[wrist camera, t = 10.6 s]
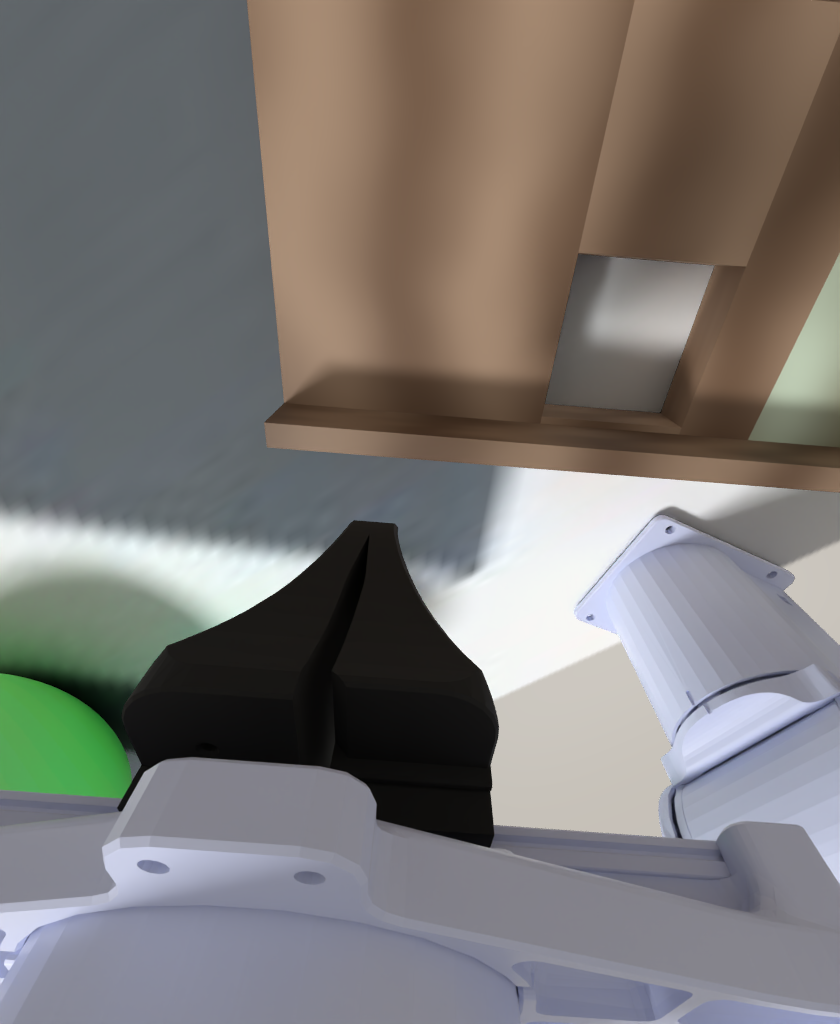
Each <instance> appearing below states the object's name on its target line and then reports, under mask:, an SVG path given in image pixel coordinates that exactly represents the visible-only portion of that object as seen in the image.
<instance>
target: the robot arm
mask: <svg viewBox="0 0 840 1024" xmlns="http://www.w3.org/2000/svg"><path fill="white" fill-rule="evenodd" d="M668 526H672V527H671V528H670V529H668V530H666V528H667V527H668ZM769 572H770V573H769ZM794 579H795V577H794V575H793V574H792V573H790V572H789V571H788V570H786V569H783V568H781V567H779V566H777V565H774V564H772V563H770V562H768V561H766V560H763V559H761V558H759V557H757V556H755V555H752V554H750V553H748V552H746V551H743V550H741V549H739V548H737V547H735V546H732V545H730V544H728V543H726V542H723V541H721V540H719V539H717V538H715V537H712V536H710V535H708V534H706V533H703V532H701V531H699V530H697V529H695V528H692V527H690V526H688V525H686V524H683V523H681V522H679V521H677V520H675V519H672V518H670V517H668V516H665V515H659V516H656V517H655V518H653V519H652V520H651V521H650V523H649V524H648V525H647V526H646V527H645V528H644V530H643V531H642V532H641V533H640V534H639V535H638V536H637V538H636V539H635V540H634V541H633V542H632V543H631V545H630V546H629V547H628V548H627V549H626V550H625V551H624V553H623V554H622V555H621V556H620V557H619V558H618V559H617V561H616V562H615V563H614V564H613V565H612V566H611V568H610V569H609V570H608V571H607V572H606V573H605V574H604V576H603V577H602V578H601V579H600V580H599V581H598V583H597V584H596V585H595V586H594V587H593V588H592V589H591V591H590V592H589V593H588V594H587V595H586V596H585V598H584V599H583V600H582V601H581V602H580V603H579V604H578V606H577V607H576V608H575V610H574V614H575V617H576V618H577V619H578V620H580V621H583V622H586V623H588V624H591V625H594V626H596V627H599V628H602V629H604V630H607V631H610V632H612V633H615V634H618V636H619V638H620V640H621V642H622V644H623V646H624V648H625V650H626V652H627V654H628V656H629V659H630V661H631V663H632V665H633V667H634V669H635V671H636V673H637V675H638V677H639V679H640V681H641V684H642V686H643V688H644V690H645V692H646V694H647V696H648V698H649V700H650V702H651V704H652V707H653V709H654V711H655V713H656V715H657V717H658V719H659V721H660V723H661V725H662V727H663V729H664V732H665V734H666V736H667V738H668V740H669V742H670V744H671V746H672V748H671V750H670V751H669V752H668V753H667V754H665V755H664V756H663V757H661V761H662V763H663V765H664V768H665V769H666V772H667V774H668V776H669V779H670V781H671V783H672V785H670V786H669V787H667V788H666V789H665V790H664V791H663V793H662V794H661V797H660V800H659V820H660V827H661V832H662V837H653V836H639V835H625V834H611V833H596V832H583V831H570V830H555V829H542V828H541V829H540V828H528V827H513V826H500V825H493V815H492V805H491V795H490V791H491V789H492V776H491V767H490V765H491V761H492V757H493V754H494V750H495V747H496V743H497V740H498V732H499V725H498V718H497V714H496V710H495V706H494V703H493V699H492V696H491V693H490V690H489V687H488V685H487V682H486V680H485V677H484V675H483V673H482V670H481V669H480V668H478V667H477V666H476V665H475V664H474V663H473V662H472V661H471V660H470V659H469V658H468V657H467V656H466V655H465V654H464V653H463V652H462V651H461V650H460V649H459V648H458V647H457V646H456V645H455V644H454V643H453V641H452V640H451V639H450V638H449V637H448V636H447V634H446V633H445V632H444V630H443V629H442V628H441V627H440V625H439V624H438V623H437V621H436V620H435V619H434V617H433V616H432V614H431V613H430V611H429V610H428V608H427V607H426V605H425V603H424V602H423V600H422V598H421V597H420V595H419V593H418V591H417V589H416V587H415V585H414V583H413V581H412V579H411V577H410V574H409V572H408V569H407V567H406V564H405V561H404V558H403V556H402V552H401V549H400V545H399V540H398V527H397V526H396V525H395V524H393V523H380V522H367V521H353V522H351V523H350V524H349V525H348V527H347V528H346V529H345V530H344V531H343V533H342V534H341V535H340V536H339V537H338V538H337V539H336V540H335V542H334V543H333V544H332V545H331V546H330V547H329V548H328V549H327V550H326V551H325V552H324V553H323V554H322V555H321V556H320V557H319V558H318V559H317V560H316V561H315V562H314V563H312V564H311V565H310V566H309V567H308V568H307V569H306V570H305V571H303V572H302V573H301V574H300V575H299V576H298V577H296V578H295V579H294V580H293V581H291V582H290V583H289V584H287V585H286V586H285V587H283V588H282V589H281V590H279V591H278V592H276V593H275V594H273V595H272V596H270V597H268V598H267V599H265V600H263V601H262V602H260V603H259V604H257V605H255V606H254V607H252V608H250V609H249V610H247V611H245V612H243V613H241V614H239V615H237V616H235V617H233V618H232V619H229V620H227V621H225V622H223V623H221V624H219V625H217V626H215V627H213V628H210V629H208V630H206V631H203V632H201V633H198V634H196V635H193V636H191V637H188V638H186V639H184V640H181V641H179V642H176V643H173V644H171V645H168V646H167V647H166V648H165V649H164V651H163V652H162V653H161V654H160V655H159V657H158V658H157V659H156V660H155V661H154V663H153V664H152V665H151V667H150V668H149V670H148V671H147V672H146V674H145V675H144V677H143V678H142V680H141V681H140V683H139V684H138V685H137V687H136V688H135V690H134V691H133V693H132V694H131V696H130V697H129V699H128V700H127V701H126V703H125V704H124V707H123V711H122V720H123V724H124V727H125V730H126V732H127V734H128V736H129V739H130V741H131V743H132V745H133V747H134V749H135V751H136V753H137V756H138V758H139V760H140V762H141V764H142V765H141V767H140V769H139V770H138V772H137V774H136V776H135V777H134V779H133V781H132V783H131V784H130V786H129V788H128V789H127V791H126V793H125V795H124V796H123V798H109V797H95V796H81V795H67V794H53V793H39V792H25V791H11V790H0V1024H840V645H838V643H837V642H835V641H834V640H833V639H832V638H831V637H830V636H829V635H828V634H827V633H826V632H825V631H824V630H823V629H822V628H821V627H820V626H819V625H818V624H817V623H816V622H815V621H814V620H813V619H812V618H811V617H810V616H809V615H808V614H807V613H805V612H804V611H803V610H802V609H801V608H800V607H799V606H798V605H797V604H796V603H795V602H794V601H793V600H792V599H791V598H790V597H789V596H788V595H787V594H786V593H785V592H784V590H785V589H786V588H787V587H788V586H789V585H791V584H792V582H793V581H794ZM591 614H592V615H591ZM588 615H591V616H588Z"/></svg>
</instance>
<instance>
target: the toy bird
mask: <svg viewBox="0 0 840 1024" xmlns="http://www.w3.org/2000/svg"><path fill="white" fill-rule="evenodd" d="M131 783H132V778H131V770H130V765H129V761H128V758H127V755H126V752H125V750H124V748H123V746H122V744H121V742H120V740H119V739H118V737H117V735H116V734H115V733H114V731H113V730H112V729H111V727H110V726H109V725H108V724H107V723H106V722H105V720H104V719H103V718H102V717H101V716H99V715H98V714H97V713H96V712H95V711H94V710H93V709H91V708H90V707H89V706H87V705H86V704H85V703H83V702H82V701H80V700H79V699H77V698H75V697H73V696H72V695H70V694H68V693H66V692H64V691H62V690H60V689H57V688H55V687H53V686H50V685H47V684H45V683H42V682H39V681H35V680H32V679H28V678H24V677H20V676H15V675H9V674H2V673H0V790H11V791H25V792H39V793H53V794H67V795H81V796H95V797H109V798H123V796H124V795H125V793H126V791H127V789H128V788H129V786H130V784H131Z"/></svg>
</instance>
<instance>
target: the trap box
mask: <svg viewBox="0 0 840 1024" xmlns="http://www.w3.org/2000/svg"><path fill="white" fill-rule="evenodd" d="M247 5H248V16H249V27H250V38H251V49H252V59H253V70H254V81H255V92H256V103H257V113H258V124H259V135H260V146H261V157H262V168H263V178H264V189H265V200H266V211H267V222H268V233H269V243H270V254H271V265H272V276H273V287H274V297H275V308H276V319H277V330H278V341H279V352H280V362H281V373H282V384H283V395H284V404H283V405H282V406H281V407H280V408H279V409H278V410H277V411H276V412H275V413H274V414H273V415H272V416H271V417H269V418H268V419H267V420H266V421H265V422H264V425H265V434H266V442H267V447H269V448H281V449H294V450H307V451H320V452H332V453H345V454H358V455H370V456H383V457H396V458H408V459H421V460H434V461H446V462H459V463H472V464H484V465H497V466H510V467H523V468H535V469H548V470H561V471H573V472H586V473H599V474H611V475H624V476H637V477H649V478H662V479H675V480H687V481H700V482H713V483H726V484H738V485H751V486H764V487H776V488H789V489H802V490H814V491H827V492H840V0H247ZM578 254H583V255H595V256H607V257H619V258H631V259H643V260H655V261H667V262H679V263H691V264H703V265H715V266H714V269H713V272H712V275H711V277H710V280H709V283H708V286H707V288H706V291H705V294H704V296H703V299H702V302H701V305H700V307H699V310H698V313H697V315H696V318H695V321H694V324H693V326H692V329H691V332H690V334H689V337H688V340H687V343H686V345H685V348H684V351H683V353H682V356H681V359H680V362H679V364H678V367H677V370H676V373H675V375H674V378H673V381H672V383H671V386H670V389H669V392H668V394H667V397H666V400H665V402H664V405H663V408H662V411H661V413H652V412H640V411H627V410H615V409H602V408H590V407H577V406H565V405H552V404H545V400H546V396H547V391H548V387H549V382H550V378H551V373H552V369H553V364H554V360H555V355H556V351H557V346H558V342H559V337H560V333H561V328H562V324H563V320H564V315H565V311H566V306H567V302H568V297H569V293H570V288H571V284H572V279H573V275H574V270H575V266H576V261H577V257H578Z"/></svg>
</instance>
